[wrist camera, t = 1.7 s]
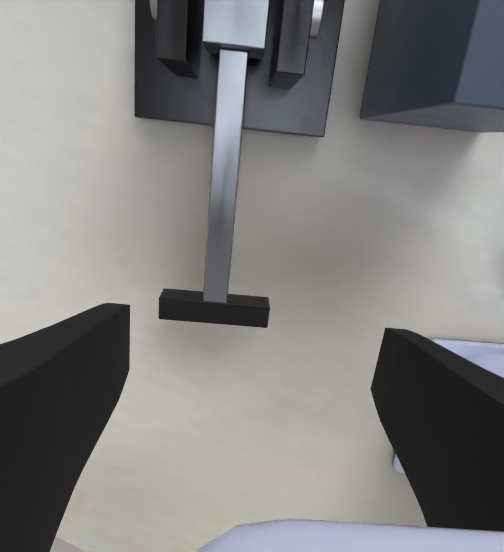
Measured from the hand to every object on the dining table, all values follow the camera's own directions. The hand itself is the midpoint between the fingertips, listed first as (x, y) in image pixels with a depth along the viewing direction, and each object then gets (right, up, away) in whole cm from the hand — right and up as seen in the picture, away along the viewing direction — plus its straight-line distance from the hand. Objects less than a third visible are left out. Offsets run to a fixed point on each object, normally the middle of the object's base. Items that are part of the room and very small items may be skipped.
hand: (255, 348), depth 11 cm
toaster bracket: (-1, +13, +6) cm, 14 cm away
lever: (-1, +7, +6) cm, 9 cm away
